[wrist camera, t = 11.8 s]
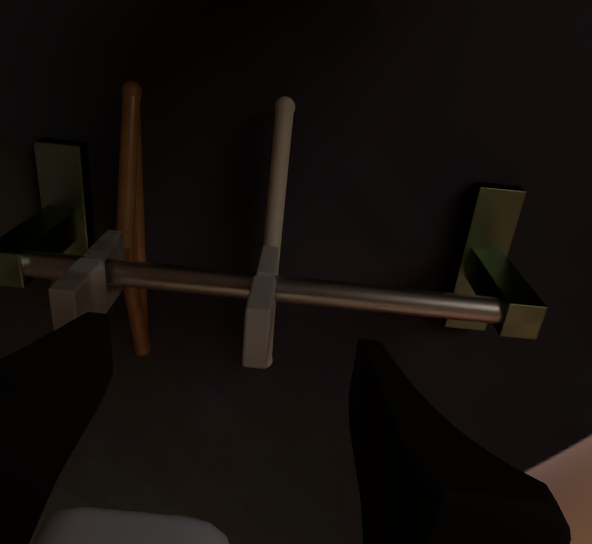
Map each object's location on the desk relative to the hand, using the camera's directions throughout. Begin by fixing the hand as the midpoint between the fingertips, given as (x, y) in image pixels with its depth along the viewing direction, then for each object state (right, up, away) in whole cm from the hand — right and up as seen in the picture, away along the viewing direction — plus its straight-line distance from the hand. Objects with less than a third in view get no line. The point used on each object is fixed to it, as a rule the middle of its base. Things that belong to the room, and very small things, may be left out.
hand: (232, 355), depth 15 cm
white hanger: (+1, +4, +9) cm, 10 cm away
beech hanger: (-5, +5, +9) cm, 11 cm away
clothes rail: (+1, +4, +9) cm, 10 cm away
